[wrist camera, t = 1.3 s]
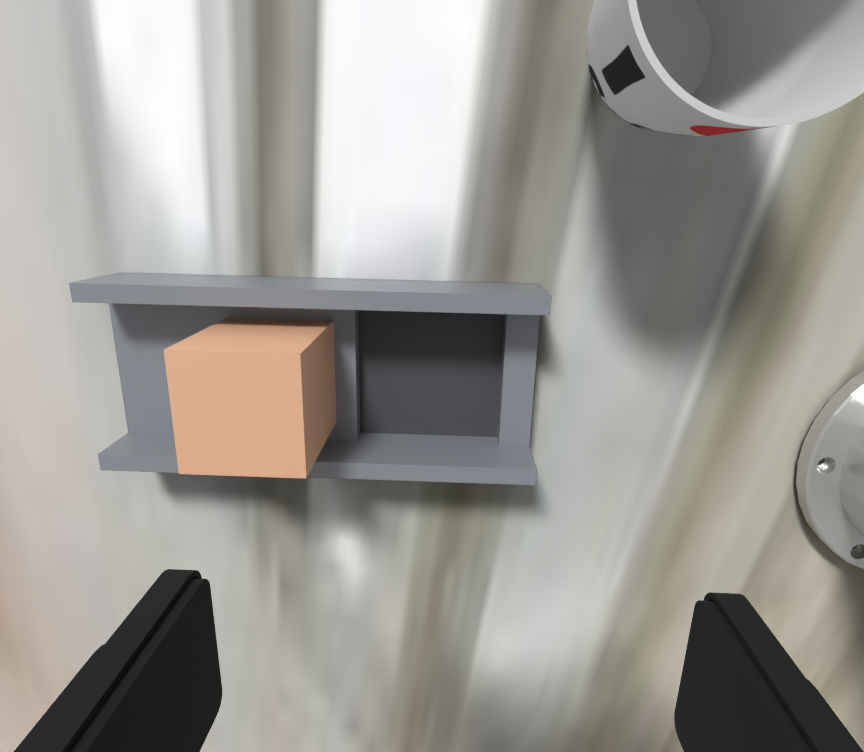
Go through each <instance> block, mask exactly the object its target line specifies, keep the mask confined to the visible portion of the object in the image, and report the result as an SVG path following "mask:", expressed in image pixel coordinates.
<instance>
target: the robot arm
mask: <svg viewBox="0 0 864 752" xmlns="http://www.w3.org/2000/svg"><path fill="white" fill-rule="evenodd" d="M796 487H797V494H798V501H799V505H800V507H801V510H802V512H803V515H804V517H805V520H806V522H807V523H808V525H809V526H810V527H811V529H812V530H813V532H814V533H815V534H816V536H817V537H818V538H819V539H820V540H821V541H822V542H824V543H825V544H826V545H827V546H828V547H829V548H830V549H831V550H832V551H833V552H834V553H835V554H837V555H838V556H839V557H841V558H842V559H844V560H845V561H846V562H848V563H850V564H852V565H854V566H856V567H859V568H861V569H864V370H863V371H862V372H860V373H859V374H857V375H856V376H855V377H853V378H852V379H850V380H849V381H848V382H847V383H846V384H845V385H844V386H843V387H842V388H841V389H840V390H839V391H838V392H837V393H836V394H835V395H834V396H832V397H831V398H830V400H829V401H828V402H827V404H826V405H825V406H824V408H823V409H822V410H821V412H820V413H819V414H818V416H817V417H816V418H815V420H814V422H813V424H812V426H811V428H810V430H809V432H808V434H807V436H806V438H805V440H804V442H803V446H802V449H801V452H800V456H799V459H798V463H797V477H796ZM221 699H222V685H221V676H220V668H219V659H218V650H217V642H216V633H215V624H214V616H213V607H212V598H211V590H210V583H209V581H208V580H207V579H202V577H201V574H200V573H199V571H196V570H174V569H168V570H165V571H164V572H163V573H162V574H161V575H160V576H159V578H158V579H157V580H156V581H155V583H154V584H153V585H152V586H151V588H150V589H149V590H148V591H147V593H146V594H145V595H144V596H143V598H142V599H141V600H140V601H139V603H138V604H137V605H136V606H135V608H134V609H133V610H132V611H131V613H130V614H129V615H128V616H127V618H126V619H125V620H124V621H123V622H122V624H121V625H120V626H119V627H118V629H117V630H116V631H115V632H114V634H113V635H112V636H111V637H110V639H109V640H108V641H107V642H106V644H104V645H102V646H101V647H100V648H99V649H98V650H97V651H96V652H95V653H94V654H93V655H92V656H91V657H90V658H89V660H88V661H87V662H86V663H85V665H84V666H83V667H82V668H81V670H80V671H79V672H78V673H77V675H76V676H75V677H74V678H73V679H72V681H71V682H70V683H69V684H68V686H67V687H66V688H65V689H64V691H63V692H62V693H61V694H60V695H59V697H58V698H57V699H56V700H55V702H54V703H53V704H52V705H51V707H50V708H49V709H48V710H47V711H46V713H45V714H44V715H43V716H42V718H41V719H40V720H39V721H38V723H37V724H36V725H35V726H34V728H33V729H32V730H31V731H30V732H29V734H28V735H27V736H26V737H25V739H24V740H23V741H22V742H21V744H20V745H19V746H18V747H17V748H16V750H15V751H14V752H200V749H201V747H202V745H203V743H204V741H205V739H206V737H207V735H208V733H209V730H210V728H211V726H212V724H213V722H214V720H215V718H216V716H217V713H218V711H219V708H220V704H221ZM674 718H675V728H676V732H677V735H678V738H679V741H680V743H681V746H682V748H683V750H684V752H863V750H862V749H861V748H860V746H859V745H858V744H857V742H856V741H855V740H854V738H853V737H852V736H851V734H850V733H849V732H848V730H847V729H846V728H845V726H844V725H843V724H842V722H841V721H840V720H839V718H838V717H837V716H836V714H835V713H834V712H833V710H832V709H831V708H830V706H829V705H828V704H827V702H826V701H825V700H824V698H823V697H822V696H821V694H820V693H819V691H818V690H817V689H816V688H815V687H814V685H813V684H812V683H811V682H810V681H809V680H807V679H806V678H805V677H804V675H803V674H802V673H801V671H800V670H799V669H798V667H797V666H796V664H795V663H794V662H793V660H792V659H791V658H790V656H789V655H788V654H787V652H786V651H785V650H784V648H783V647H782V646H781V644H780V643H779V641H778V640H777V639H776V637H775V636H774V635H773V633H772V632H771V631H770V629H769V628H768V627H767V625H766V624H765V623H764V621H763V620H762V618H761V617H760V616H759V614H758V613H757V612H756V610H755V609H754V608H753V606H752V605H751V604H750V602H749V601H748V600H747V598H746V597H745V596H744V595H741V594H730V593H707V595H706V596H705V598H704V601H697V602H696V604H695V607H694V613H693V618H692V623H691V628H690V634H689V639H688V644H687V650H686V655H685V660H684V666H683V671H682V676H681V682H680V687H679V692H678V698H677V703H676V708H675V715H674Z"/></svg>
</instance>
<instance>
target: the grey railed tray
mask: <svg viewBox="0 0 864 752" xmlns="http://www.w3.org/2000/svg"><path fill="white" fill-rule="evenodd" d="M69 285H70V291H71V297H72V302H86V303H109V307H110V314H111V321H112V327H113V334H114V341H115V347H116V354H117V361H118V367H119V374H120V381H121V387H122V394H123V401H124V407H125V414H126V421H127V427H128V433H127V434H126V435H125V436H123V437H122V438H120V439H119V440H118V441H116V442H115V443H113V444H112V445H111V446H109V447H108V448H106V449H105V450H103V451H102V452H101V453H99V454H98V457H99V463H100V468H101V470H111V471H140V472H168V473H179V471H178V463H177V455H176V447H175V439H174V431H173V422H172V414H171V406H170V398H169V390H168V382H167V374H166V366H165V358H164V349H166V348H168V347H170V346H172V345H174V344H176V343H178V342H180V341H182V340H184V339H186V338H188V337H190V336H192V335H194V334H196V333H198V332H200V331H202V330H204V329H206V328H208V327H209V326H211V325H213V324H215V323H217V322H219V321H221V320H223V319H225V318H254V319H289V320H325V321H334V352H335V385H336V418H337V421H336V423H335V425H334V427H333V429H332V431H331V433H330V435H329V436H328V438H327V440H326V442H325V444H324V446H323V448H322V450H321V452H320V454H319V455H318V457H317V459H316V461H315V463H314V465H313V467H312V469H311V471H310V473H309V474H308V476H307V477H312V478H340V479H369V480H398V481H426V482H455V483H483V484H512V485H536V474H537V468H536V465H535V462H534V459H533V456H532V453H531V450H530V447H529V444H530V432H531V419H532V407H533V394H534V382H535V369H536V357H537V344H538V332H539V320H540V315H550V311H551V299H552V296H551V295H550V294H549V293H548V292H547V291H546V290H544V289H543V288H542V287H541V286H540V285H539V284H528V283H491V282H453V281H415V280H377V279H339V278H302V277H264V276H226V275H188V274H151V273H116V274H111V275H106V276H101V277H96V278H91V279H86V280H81V281H77V282H72V283H69Z"/></svg>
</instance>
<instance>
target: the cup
mask: <svg viewBox="0 0 864 752" xmlns="http://www.w3.org/2000/svg"><path fill="white" fill-rule="evenodd" d="M587 58H588V65H589V69H590V73H591V77H592V80H593V82H594V85H595V87H596V89H597V91H598V93H599V94H600V96H601V98H602V99H603V100H604V102H605V103H606V104H607V106H608V107H609V108H610V109H611V110H612V111H613V112H614V113H615V114H617V115H618V116H619V117H620V118H622V119H623V120H625V121H626V122H628V123H630V124H632V125H634V126H637V127H640V128H643V129H647V130H651V131H659V132H666V133H674V134H681V135H689V136H708V135H717V134H724V133H731V132H738V131H746V130H753V129H760V128H767V127H775V126H782V125H788V124H794V123H798V122H802V121H806V120H809V119H812V118H815V117H818V116H821V115H823V114H826V113H828V112H830V111H832V110H834V109H836V108H838V107H840V106H842V105H844V104H846V103H848V102H849V101H851V100H853V99H854V98H856V97H857V96H859V95H860V94H862V93H863V92H864V0H594V4H593V9H592V13H591V17H590V21H589V26H588V33H587Z"/></svg>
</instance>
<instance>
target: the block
mask: <svg viewBox="0 0 864 752" xmlns="http://www.w3.org/2000/svg"><path fill="white" fill-rule="evenodd" d="M164 358H165V366H166V374H167V382H168V390H169V398H170V406H171V414H172V422H173V431H174V439H175V447H176V455H177V463H178V471H179V474H192V475H220V476H249V477H277V478H307V476H308V474H309V473H310V471H311V469H312V467H313V465H314V463H315V461H316V459H317V457H318V455H319V454H320V452H321V450H322V448H323V446H324V444H325V442H326V440H327V438H328V436H329V435H330V433H331V431H332V429H333V427H334V425H335V423H336V421H337V418H336V385H335V352H334V321H325V320H289V319H254V318H225V319H223V320H221V321H219V322H217V323H215V324H213V325H211V326H209V327H208V328H206V329H204V330H202V331H200V332H198V333H196V334H194V335H192V336H190V337H188V338H186V339H184V340H182V341H180V342H178V343H176V344H174V345H172V346H170V347H168V348H166V349H164Z"/></svg>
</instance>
